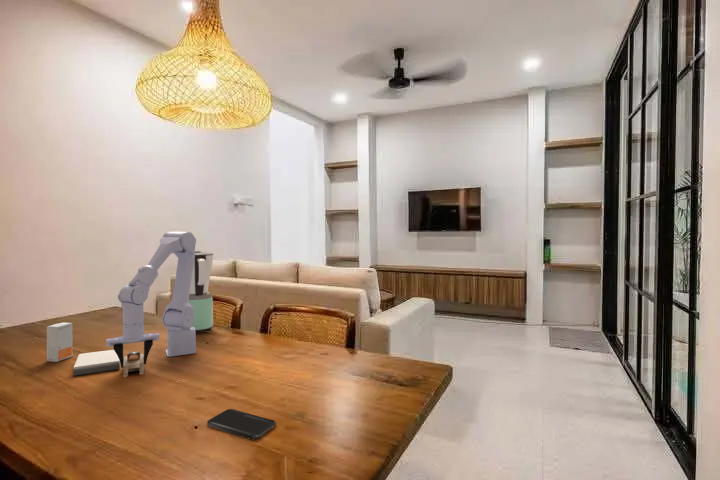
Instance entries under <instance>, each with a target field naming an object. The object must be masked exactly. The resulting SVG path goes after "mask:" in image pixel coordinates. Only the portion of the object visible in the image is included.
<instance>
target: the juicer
mask: <svg viewBox="0 0 720 480" xmlns="http://www.w3.org/2000/svg"><path fill="white" fill-rule="evenodd" d="M213 259H214V253H212V252H203V251H201V250H195V259H194V266H193V273H192V280H191V286H190V293H189V300H188V302H189V304H190V305H191V306H192V307H193V308H194V310H193V314H194V322H193V324H192V326H191V327H195V332H196V333H204V332H206V331H212V328H213V327H214V304H213V303H214V299H213V295H212V294H211V293H210V292H209V285H210V280H211V279H210V278H211V273H212V266H213ZM181 311H182V310H181Z"/></svg>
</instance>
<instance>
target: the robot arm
mask: <svg viewBox="0 0 720 480" xmlns="http://www.w3.org/2000/svg"><path fill="white" fill-rule="evenodd" d="M159 243H160V244H159V246H158V247H157V249H156V251H155V252H154V254H153V255H152V257H151V258H150V259H149V260H150V261H149V262H148V264H147V265H141V267H139V268H138V269H137V272H136V274H135V275H134V276H133V278H132V279H131V280H130V281H129V282H128V285H125V286H123V287H122V288H121V289H120V291H119V293H118V295H117V299H118V301H119V302H120V304H121V308H122V336H118V337H111V338H106V340H105V341H106V342H105V347H106V348H108V347H111V346H113V349H112V350H114V351H115V352H116V354H117V356H118V358H119V360H120V368H121V369H123V363H124V345H126V344H127V345H128V344H133V343H135V344H136V343H143V356H144V366H145V365H147V359H148V357H149V354H150V351H151V349H152V347H153V345H154V341H156V342H157V341H160V333H159V332H156V333H144V332H145V328H144V327H145V326H144V324H145V321H144V309H145V308H144V303H145V302H146V301H147V300H148V298H149V291H150V288H151V287H152V285H153V284H154V282H155V281H156V280H157V278H158V276H159V273H158V270H160V268H161V267H162V265H163V264H164V263H165V262H166V260H167V259H168V258H169V257H170V255H172V254H174V255H175V256H176V258H178V259H177V267H176V272H175V279H174V285H173V290H172V291H173V292H172V293H173V294H172V298H171V301H170V302H169V303H168V304H166V306H165V309H164V312H163V314H162V317H161V321H162V324H163V326H165V330H166V332H167V335H166V337H167V338H166V339H167V341H166V343H167V347H166V348H167V349H165V354H166V357H167V358H170V357H177V356H183V355H185V356H186V355H192V354H196V353H197V348H196V347H197V341H196V340H197V336H196V332H195V327H191V326H192V324H193V322H194V314H193V310H194V308H193V307H192V306H191V305H190V304H189V302H188V300H189V293H190V286H191V280H192V273H193V266H194V259H195V251H196V245H197V238H196V237H195V236H194V234H193V233H192V232H190V231H166V232H165V233H164V234H163V235H162V237H161V238H160V240H159ZM181 310H182V311H181Z"/></svg>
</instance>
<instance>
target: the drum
mask: <svg viewBox="0 0 720 480" xmlns="http://www.w3.org/2000/svg"><path fill="white" fill-rule="evenodd" d="M140 354H141V351H135V350H134V351H129V352H128V353H127V354H126V356H127V361H137V360H139V359H140Z"/></svg>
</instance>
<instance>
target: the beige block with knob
mask: <svg viewBox="0 0 720 480" xmlns="http://www.w3.org/2000/svg"><path fill="white" fill-rule="evenodd" d="M123 358H124V363H123V368H122V369H123V374H122V377H123V378H126V377H129V373H130V372H135V371H136V372H137V371H139V375H144V374H145V365H144V353H140V359H139V360H137V361H127V355H123Z"/></svg>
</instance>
